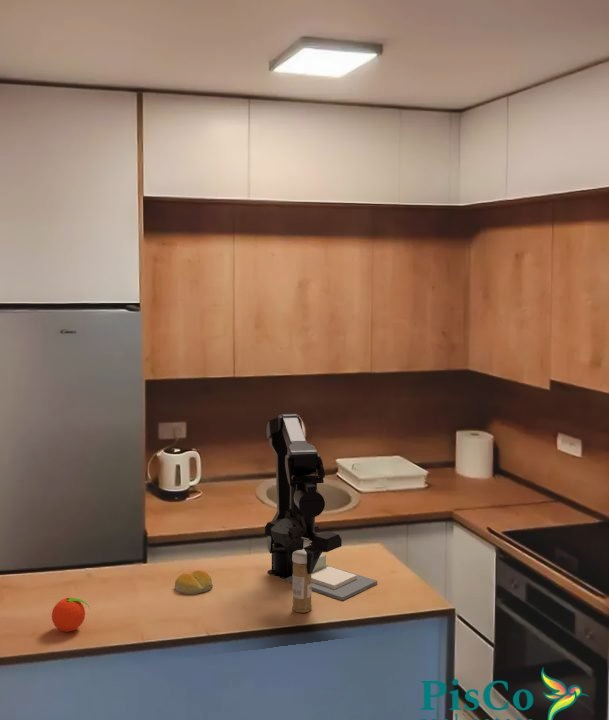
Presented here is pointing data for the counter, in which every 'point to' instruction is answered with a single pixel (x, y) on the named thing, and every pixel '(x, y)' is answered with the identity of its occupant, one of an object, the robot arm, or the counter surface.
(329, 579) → the board
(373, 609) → the counter surface
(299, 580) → the sprinkles bottle
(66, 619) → the clementine
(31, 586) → the counter surface
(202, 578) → the bread roll
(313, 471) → the robot arm
